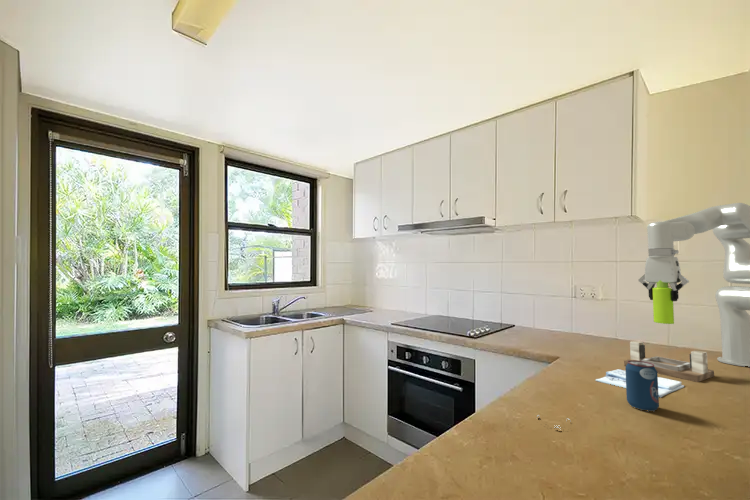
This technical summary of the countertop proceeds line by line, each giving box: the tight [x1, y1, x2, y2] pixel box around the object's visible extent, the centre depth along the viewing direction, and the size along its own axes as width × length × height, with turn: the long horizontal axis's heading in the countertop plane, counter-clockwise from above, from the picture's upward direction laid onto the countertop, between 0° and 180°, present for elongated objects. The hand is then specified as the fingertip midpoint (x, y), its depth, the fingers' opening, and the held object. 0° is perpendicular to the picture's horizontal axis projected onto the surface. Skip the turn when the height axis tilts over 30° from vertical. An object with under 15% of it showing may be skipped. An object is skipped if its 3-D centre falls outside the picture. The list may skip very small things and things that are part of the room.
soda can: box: [624, 360, 660, 412], centre depth 92 cm, size 7×7×12 cm
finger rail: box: [623, 340, 715, 383], centre depth 126 cm, size 14×22×9 cm, turn 28°
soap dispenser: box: [652, 280, 675, 325], centre depth 127 cm, size 6×7×20 cm
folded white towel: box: [595, 368, 685, 399], centre depth 111 cm, size 19×20×2 cm
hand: (663, 300), depth 127 cm, fingers closed on soap dispenser, 6 cm apart
